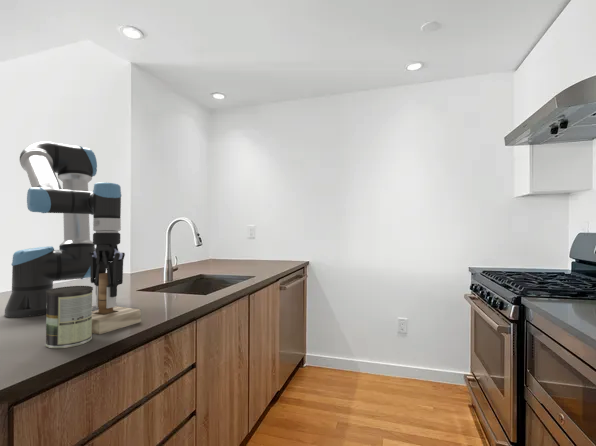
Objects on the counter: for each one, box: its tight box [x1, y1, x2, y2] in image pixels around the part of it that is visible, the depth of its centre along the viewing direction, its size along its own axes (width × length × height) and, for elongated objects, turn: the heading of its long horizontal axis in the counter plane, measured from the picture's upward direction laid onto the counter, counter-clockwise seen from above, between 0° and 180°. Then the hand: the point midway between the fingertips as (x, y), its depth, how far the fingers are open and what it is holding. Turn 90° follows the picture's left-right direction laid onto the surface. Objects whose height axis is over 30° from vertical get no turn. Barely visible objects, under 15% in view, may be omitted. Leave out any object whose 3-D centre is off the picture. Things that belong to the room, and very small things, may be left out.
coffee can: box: [45, 285, 94, 350], centre depth 89 cm, size 10×10×14 cm
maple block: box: [92, 305, 142, 335], centre depth 103 cm, size 12×14×4 cm
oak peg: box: [97, 272, 113, 313], centre depth 104 cm, size 4×4×12 cm
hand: (106, 306), depth 104 cm, fingers closed on oak peg, 4 cm apart
